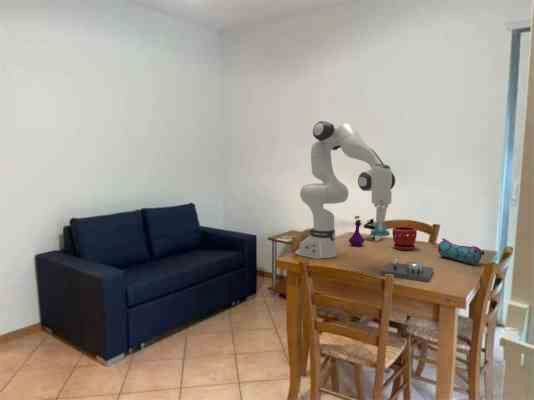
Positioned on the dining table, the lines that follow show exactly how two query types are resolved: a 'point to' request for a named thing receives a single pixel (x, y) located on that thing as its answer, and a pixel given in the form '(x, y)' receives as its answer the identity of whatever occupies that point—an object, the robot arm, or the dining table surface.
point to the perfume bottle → (357, 235)
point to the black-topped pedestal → (372, 226)
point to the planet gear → (379, 233)
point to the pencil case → (460, 252)
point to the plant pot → (404, 237)
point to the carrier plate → (408, 270)
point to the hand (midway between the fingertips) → (380, 229)
